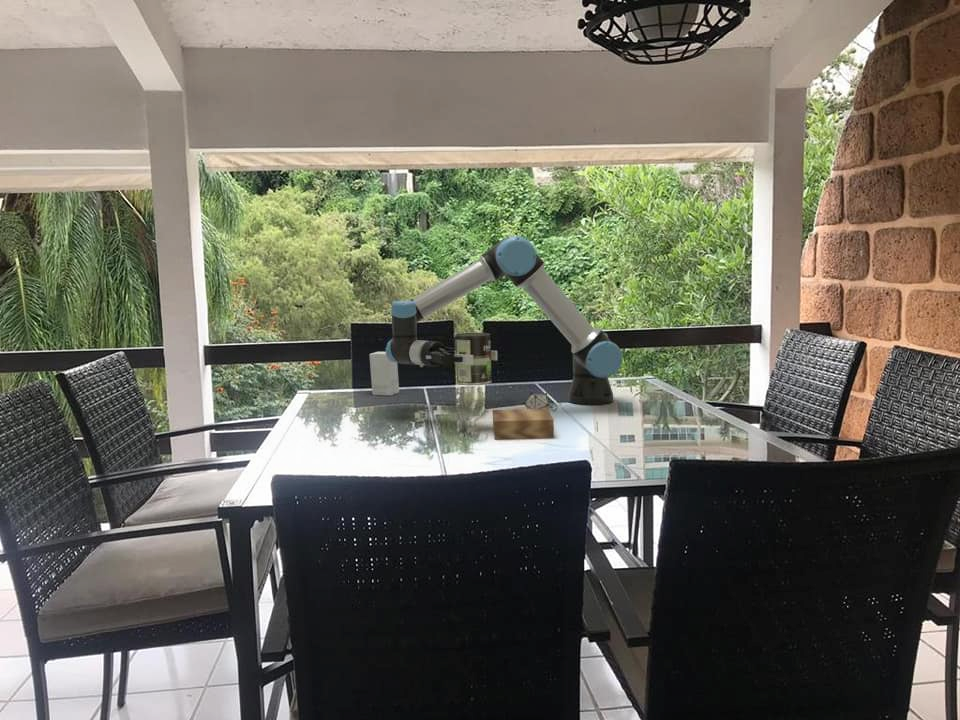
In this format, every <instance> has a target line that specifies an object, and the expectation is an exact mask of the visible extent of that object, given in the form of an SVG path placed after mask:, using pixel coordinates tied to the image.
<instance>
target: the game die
mask: <svg viewBox="0 0 960 720" xmlns="http://www.w3.org/2000/svg"><path fill="white" fill-rule="evenodd" d="M522 405H524V406H525V409H545V408H548V410H549V411H550V409H554V406H551V404H550V401H549V399H548V392H545V394H541V393H533V392H532V391H530V396H529V398H527V401H526V402H523V403H522Z"/></svg>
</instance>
